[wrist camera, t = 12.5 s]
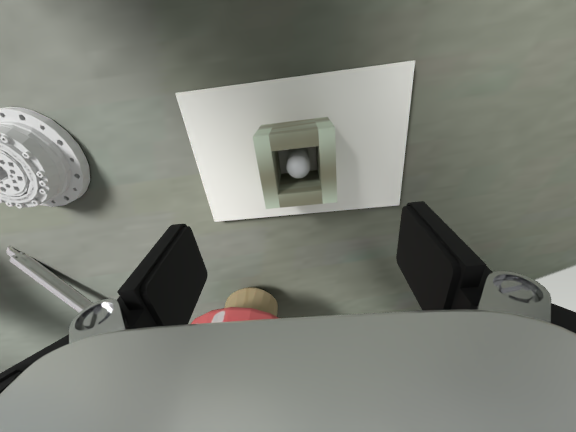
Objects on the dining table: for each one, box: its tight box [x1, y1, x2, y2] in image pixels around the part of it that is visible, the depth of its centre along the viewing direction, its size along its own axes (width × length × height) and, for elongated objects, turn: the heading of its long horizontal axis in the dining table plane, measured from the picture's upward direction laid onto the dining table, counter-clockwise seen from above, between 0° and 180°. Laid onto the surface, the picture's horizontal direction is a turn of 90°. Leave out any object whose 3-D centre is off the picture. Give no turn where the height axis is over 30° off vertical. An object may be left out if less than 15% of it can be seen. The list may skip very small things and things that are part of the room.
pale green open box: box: [253, 117, 337, 209], centre depth 22 cm, size 6×6×5 cm
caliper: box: [6, 246, 93, 312], centre depth 33 cm, size 20×1×6 cm, turn 48°
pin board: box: [175, 60, 415, 222], centre depth 22 cm, size 13×20×6 cm, turn 97°
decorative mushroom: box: [191, 287, 278, 324], centre depth 28 cm, size 13×13×15 cm
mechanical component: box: [0, 107, 90, 208], centre depth 24 cm, size 10×4×10 cm
